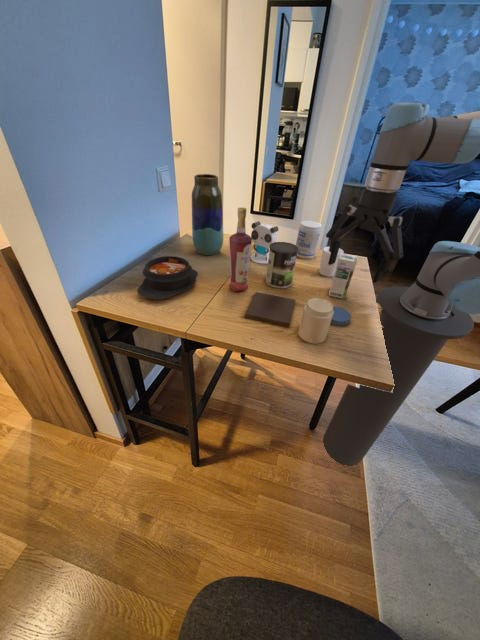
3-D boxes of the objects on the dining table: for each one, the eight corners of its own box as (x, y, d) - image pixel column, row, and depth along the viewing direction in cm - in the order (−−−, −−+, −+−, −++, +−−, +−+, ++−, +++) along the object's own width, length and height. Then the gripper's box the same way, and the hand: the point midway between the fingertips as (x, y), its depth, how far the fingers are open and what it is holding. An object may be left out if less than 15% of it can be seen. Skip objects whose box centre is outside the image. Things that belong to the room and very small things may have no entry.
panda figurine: (244, 257, 117) (246, 224, 108) (259, 250, 124) (262, 218, 115) (265, 266, 111) (269, 231, 102) (280, 258, 118) (285, 225, 109)
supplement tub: (292, 257, 120) (297, 224, 111) (296, 249, 127) (302, 219, 118) (313, 261, 118) (320, 228, 109) (316, 253, 125) (323, 222, 116)
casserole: (170, 266, 107) (167, 247, 102) (209, 277, 101) (209, 257, 96) (125, 295, 88) (119, 272, 83) (169, 310, 83) (166, 287, 78)
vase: (193, 246, 125) (189, 172, 106) (222, 246, 127) (222, 173, 108) (192, 258, 114) (187, 178, 95) (224, 258, 116) (225, 179, 97)
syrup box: (328, 295, 94) (339, 258, 85) (329, 288, 99) (340, 252, 90) (344, 299, 93) (357, 261, 84) (345, 291, 97) (357, 255, 88)
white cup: (340, 274, 108) (348, 251, 102) (328, 279, 104) (334, 255, 98) (326, 267, 113) (332, 245, 107) (313, 271, 109) (319, 248, 103)
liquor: (238, 296, 91) (243, 213, 74) (224, 288, 95) (224, 208, 78) (252, 289, 95) (259, 209, 78) (237, 281, 99) (241, 204, 82)
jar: (326, 329, 79) (335, 300, 72) (325, 346, 72) (335, 316, 66) (299, 323, 80) (306, 294, 74) (296, 339, 74) (303, 309, 68)
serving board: (294, 303, 89) (295, 299, 88) (288, 327, 79) (289, 323, 78) (255, 295, 92) (255, 291, 91) (244, 317, 81) (244, 313, 81)
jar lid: (317, 316, 84) (318, 312, 82) (331, 307, 88) (332, 303, 87) (340, 329, 79) (342, 324, 78) (353, 319, 83) (355, 314, 82)
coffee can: (297, 283, 101) (304, 248, 92) (279, 291, 95) (285, 255, 87) (277, 273, 107) (282, 239, 98) (259, 280, 101) (263, 245, 92)
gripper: (325, 181, 65) (308, 260, 78) (434, 202, 51) (391, 294, 64) (340, 179, 69) (322, 254, 82) (445, 197, 55) (403, 284, 68)
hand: (352, 271), depth 73 cm, fingers open, 13 cm apart
